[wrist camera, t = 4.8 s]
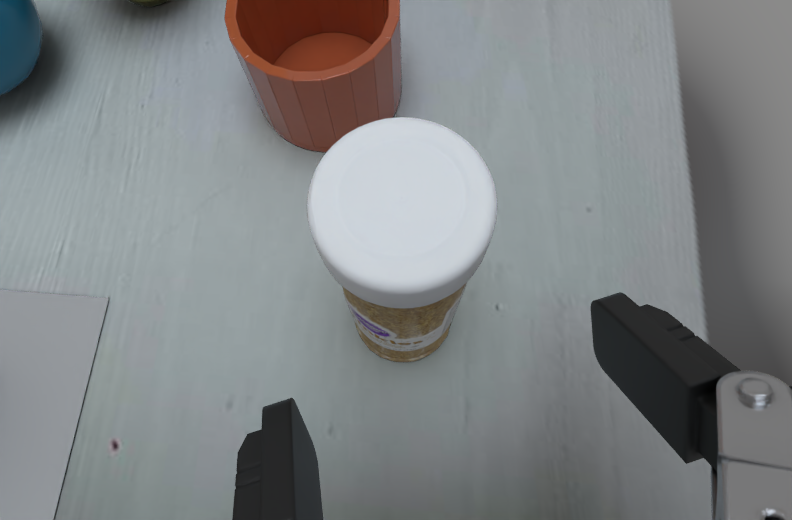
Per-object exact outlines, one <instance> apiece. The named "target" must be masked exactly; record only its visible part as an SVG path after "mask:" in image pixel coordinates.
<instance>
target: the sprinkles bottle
mask: <svg viewBox="0 0 792 520" xmlns="http://www.w3.org/2000/svg"><path fill="white" fill-rule="evenodd" d="M307 215H308V222H309V226H310V230H311V233H312V236H313V239H314V242H315V244H316V247H317V249H318V252H319V254H320V256H321V258H322V260H323V262H324V264H325V265H326V267H327V269H328V270H329V272H330V273H331V274H332V276H333V277H334V278H335V279H336V280H337V281H338V282H339V283H340V284H341V285H342V287H343V291H344V296H345V298H346V301H347V303H348V306H349V309H350V311H351V313H352V315H353V318H354V320H355V324H356V328H357V330H358V332H359V335H360V337H361V338H362V340H363V341H364V343H365V344H366V345H367V346H368V348H369V349H370V350H371V351H373V352H374V353H376V354H377V355H378V356H380V357H382V358H385V359H388V360H391V361H395V362H411V361H416V360H419V359H422V358H424V357H426V356H428V355H430V354H431V353H432V352H434V351H435V350H436V349H437V348H438V347H439V346H440V345H441V343H442V342H443V341H444V340H445V338H446V337H447V335H448V331H449V327H450V325H451V321H452V319H453V317H454V314H455V312H456V309H457V307H458V304H459V302H460V299H461V297H462V295H463V292H464V289H465V287H466V284H467V282H468V280H469V279H470V278H471V277H472V276H473V274H474V273H475V271H476V270H477V268H478V267H479V265H480V264H481V262H482V260H483V257H484V255H485V253H486V250H487V248H488V246H489V243H490V240H491V238H492V235H493V231H494V227H495V224H496V217H497V195H496V189H495V184H494V181H493V178H492V176H491V173H490V171H489V169H488V167H487V165H486V163H485V162H484V160H483V158H482V157H481V156H480V154H479V153H478V152H477V151H476V149H475V148H474V147H473V146H472V145H471V144H470V143H468V142H467V141H466V140H465V139H464V138H463V137H461V136H460V135H459V134H457V133H456V132H454V131H452V130H451V129H449V128H447V127H444V126H442V125H440V124H437V123H434V122H431V121H428V120H423V119H418V118H407V117H396V118H386V119H381V120H377V121H374V122H371V123H368V124H365V125H363V126H360V127H358V128H356V129H354V130H353V131H351V132H349V133H347V134H346V135H344V136H343V137H342V138H341V139H340V140H338V141H337V142H336V143H335V144H334V145H333V146H332V147H331V148H330V149H329V150H328V151H327V152H326V154H325V155H324V156H323V158H322V159H321V161H320V162H319V164H318V166H317V168H316V170H315V172H314V174H313V177H312V180H311V183H310V187H309V191H308V199H307Z"/></svg>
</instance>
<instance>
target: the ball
mask: <svg viewBox="0 0 792 520" xmlns="http://www.w3.org/2000/svg"><path fill="white" fill-rule="evenodd" d="M42 39H43V31H42V24H41V21H40V17H39V14H38V11H37V7H36V4H35V2H34V0H0V95H3V94H6V93H8V92H10V91H11V90H12V89H14V88H15V87H16V86H18V85H19V84H20V83H22V82H23V81H24V80H26V79H27V77H28V76H29V74H30V73H31V71H32V70H33V68H34V67H35V65H36V64H37V63H38V58H39V53H40V48H41V43H42Z"/></svg>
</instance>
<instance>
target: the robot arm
mask: <svg viewBox="0 0 792 520" xmlns="http://www.w3.org/2000/svg"><path fill="white" fill-rule="evenodd" d="M591 319H592V333H593V346H594V352H595V355H596V358H597V360H598V362H599V364H600V366H601V368H602V369H603V370H604V372H605V373H606V374H607V375H608V376H609V377H610V378H611V379H612V381H613V382H614V383H615V384H616V385H617V386H618V387H619V388H620V390H621V391H622V392H623V393H624V394H625V395H626V396H627V397H628V399H629V400H630V401H631V402H632V403H633V404H634V405H635V406H636V408H637V409H638V410H639V411H640V412H641V413H642V414H643V415H644V417H645V418H646V419H647V420H648V421H649V422H650V423H651V424H652V426H653V427H654V428H655V429H656V430H657V431H658V432H659V433H660V435H661V436H662V437H663V438H664V439H665V440H666V441H667V442H668V444H669V445H670V446H671V447H672V448H673V449H674V450H675V451H676V453H677V454H678V455H679V456H680V457H681V458H682V459H683V460H684V462H685V463H686V464H687V463H690V462H693V461H696V460H698V459H701V458H705V459H706V460H707V461H708V463H709V464H710V465H711V512H712V520H792V387H790V386H788V385H786V384H785V383H784V382H782V381H781V380H779V379H777V378H775V377H773V376H771V375H768V374H765V373H761V372H756V371H741V370H740V369H738V368H737V367H736V366H734V365H733V364H732V363H731V362H729V361H728V360H727V359H726V358H724V357H723V356H722V355H721V354H719V353H718V352H717V351H716V350H714V349H713V348H712V347H711V346H709V345H708V344H707V343H706V342H704V341H703V340H702V339H700V338H699V337H698V336H695V335H694V333H693V332H692V331H690V330H689V329H688V328H687V327H685V326H684V327H683V325H682V323H680V322H679V321H678V320H677V319H675V318H674V317H673V316H672V315H670V314H669V313H668V312H666V311H663V310H660V309H658V308H655V307H653V306H650V305H643V306H640V307H639V306H638V305H637V304H636V303H634V302H633V301H632V300H631V299H630V298H629V297H627V296H626V295H625V294H623V293H616V294H613V295H610V296H607V297H604V298H601V299H598V300H595V301H593V302H592V303H591ZM235 486H236V489H235V496H234V508H233V520H323V512H322V502H321V491H320V480H319V470H318V461H317V456H316V452H315V448H314V445H313V442H312V440H311V437H310V435H309V433H308V430H307V428H306V426H305V423H304V421H303V419H302V416H301V414H300V412H299V409H298V407H297V405H296V403H295V401H294V399H293V398H290V399H287V400H283V401H280V402H277V403H274V404H271V405H268V406H265V407H263V411H262V430H259V431H256V432H252V433H249V434H247V436H246V438H245V440H244V442H243V444H242V446H241V448H240V450H239V452H238V458H237V474H236V483H235Z"/></svg>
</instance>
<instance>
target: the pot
mask: <svg viewBox="0 0 792 520" xmlns="http://www.w3.org/2000/svg"><path fill="white" fill-rule="evenodd" d="M225 23H226V27H227V31H228V35H229V38H230V41H231V43H232V46H233V48H234V50H235V52H236V54H237V57H238V59H239V61H240V63H241V65H242V68H243V70H244V72H245V74H246V76H247V79H248V81H249V83H250V85H251V87H252V90H253V92H254V94H255V96H256V98H257V101H258V103H259V105H260V107H261V109H262V111H263V113H264V115H265V116H266V118H267V120H268V122H269V123H270V125H271V126H272V127H273V129H274V130H275V131H276V132H277V133H278V134H279V135H280V136H282V137H283V138H284V139H286V140H287V141H289V142H291V143H292V144H294V145H296V146H299V147H302V148H304V149H308V150H312V151H319V152H327V151H328V150H329V149H330V148H331V147H332V146H333V145H334V144H335V143H336V142H337V141H338V140H340V139H341V138H342V137H343V136H344V135H346V134H347V133H349V132H351V131H353V130H354V129H356V128H358V127H360V126H363V125H365V124H368V123H371V122H374V121H377V120H381V119H386V118H393V116H394V114H395V112H396V110H397V108H398V105H399V102H400V97H401V29H400V0H227V3H226V11H225Z"/></svg>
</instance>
